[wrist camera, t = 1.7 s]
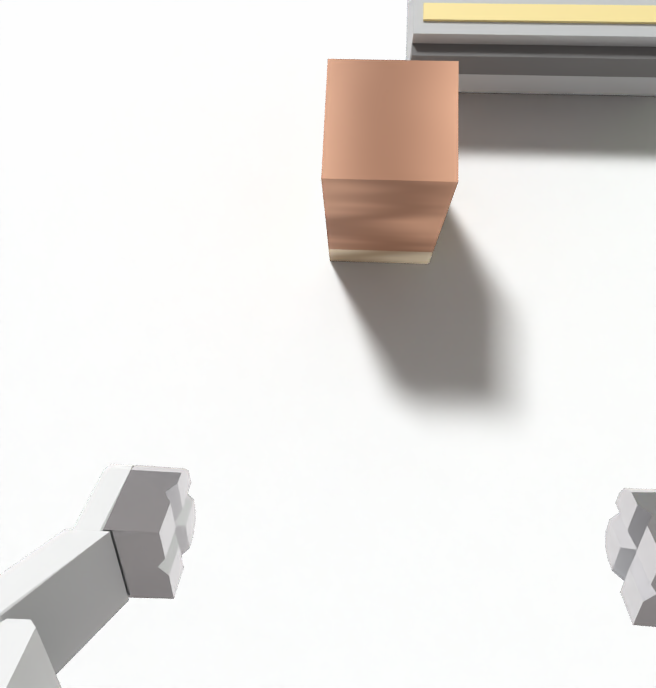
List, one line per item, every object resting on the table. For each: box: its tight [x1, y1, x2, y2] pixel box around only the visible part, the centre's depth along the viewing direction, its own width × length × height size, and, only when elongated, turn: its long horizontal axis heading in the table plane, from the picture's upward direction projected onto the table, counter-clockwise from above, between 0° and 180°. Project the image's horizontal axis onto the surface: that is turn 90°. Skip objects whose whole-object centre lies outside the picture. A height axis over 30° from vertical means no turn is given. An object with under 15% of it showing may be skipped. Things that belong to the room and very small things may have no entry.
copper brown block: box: [321, 59, 459, 264], centre depth 25 cm, size 4×4×8 cm
